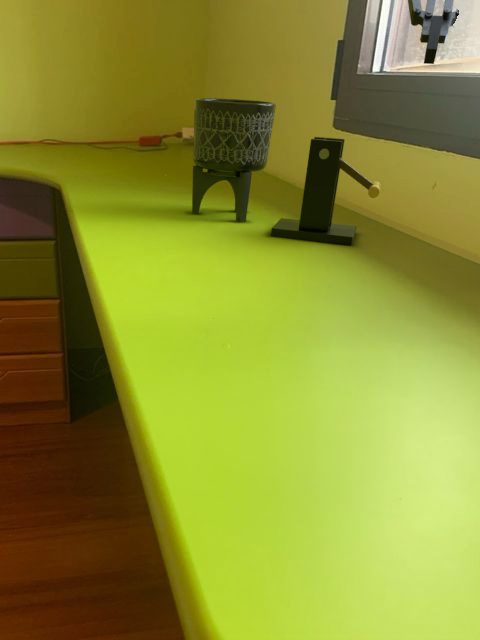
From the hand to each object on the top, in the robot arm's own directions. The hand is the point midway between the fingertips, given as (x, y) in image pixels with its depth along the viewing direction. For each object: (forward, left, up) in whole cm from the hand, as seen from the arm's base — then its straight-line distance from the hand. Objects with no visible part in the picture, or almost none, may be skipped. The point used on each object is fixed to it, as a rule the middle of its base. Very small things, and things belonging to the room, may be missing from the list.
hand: (430, 56), depth 104 cm
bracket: (+12, +14, -25) cm, 31 cm away
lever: (+9, +14, -16) cm, 23 cm away
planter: (+28, +6, -25) cm, 38 cm away
